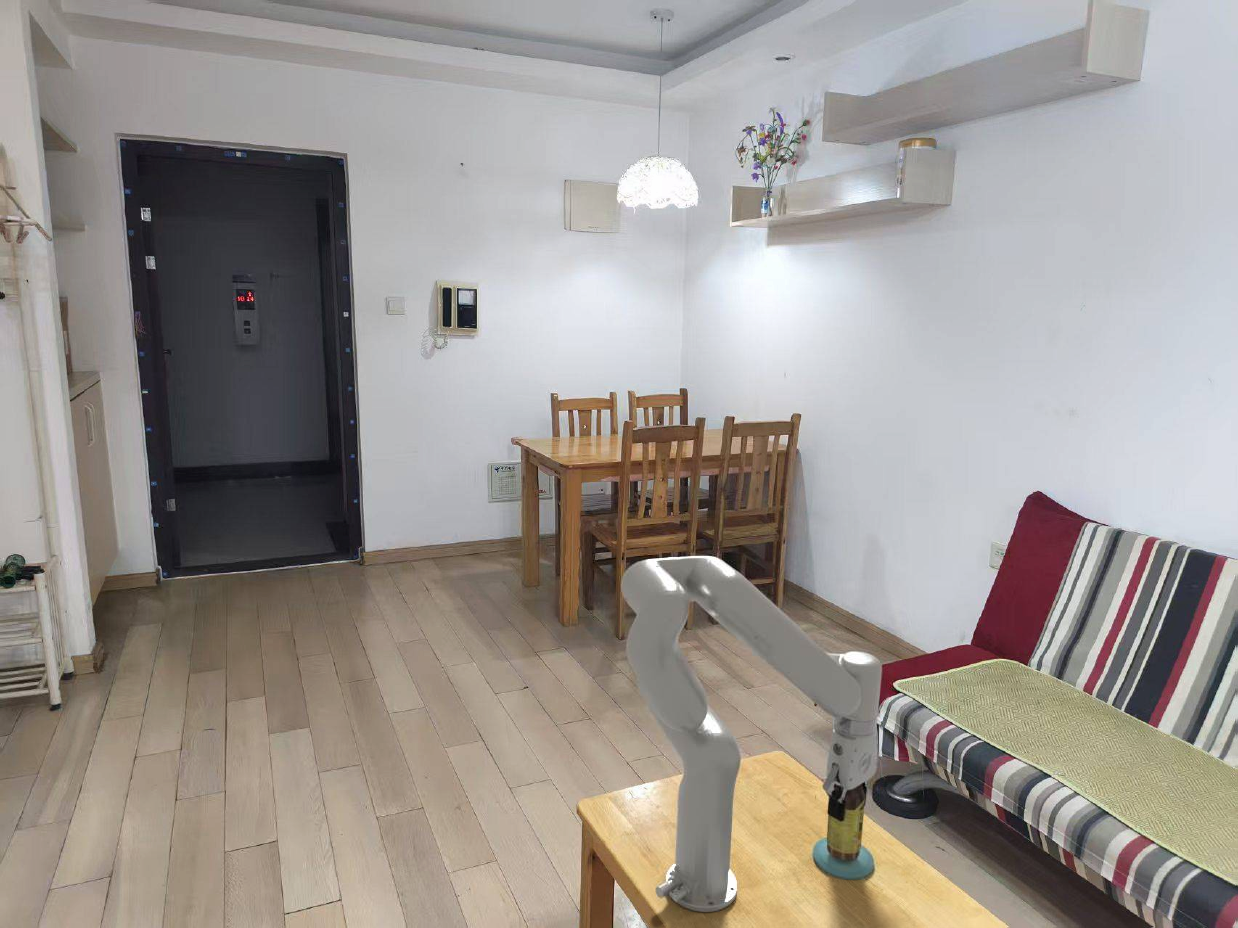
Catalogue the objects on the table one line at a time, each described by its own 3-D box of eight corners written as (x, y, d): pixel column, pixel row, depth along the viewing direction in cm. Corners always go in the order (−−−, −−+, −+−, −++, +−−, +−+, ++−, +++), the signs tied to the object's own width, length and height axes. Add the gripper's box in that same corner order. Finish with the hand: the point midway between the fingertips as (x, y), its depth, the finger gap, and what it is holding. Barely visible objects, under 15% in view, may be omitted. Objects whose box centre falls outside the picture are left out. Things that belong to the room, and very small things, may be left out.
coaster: (852, 888, 143) (852, 884, 143) (800, 856, 151) (801, 852, 151) (885, 862, 151) (885, 857, 150) (834, 832, 159) (834, 828, 158)
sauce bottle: (864, 864, 147) (873, 765, 143) (829, 862, 147) (838, 763, 144) (854, 840, 154) (863, 745, 150) (821, 839, 154) (829, 744, 150)
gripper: (845, 745, 137) (837, 839, 141) (898, 714, 148) (889, 802, 152) (809, 727, 143) (801, 818, 146) (862, 698, 154) (854, 784, 157)
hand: (846, 809), depth 149 cm, fingers closed on sauce bottle, 6 cm apart
